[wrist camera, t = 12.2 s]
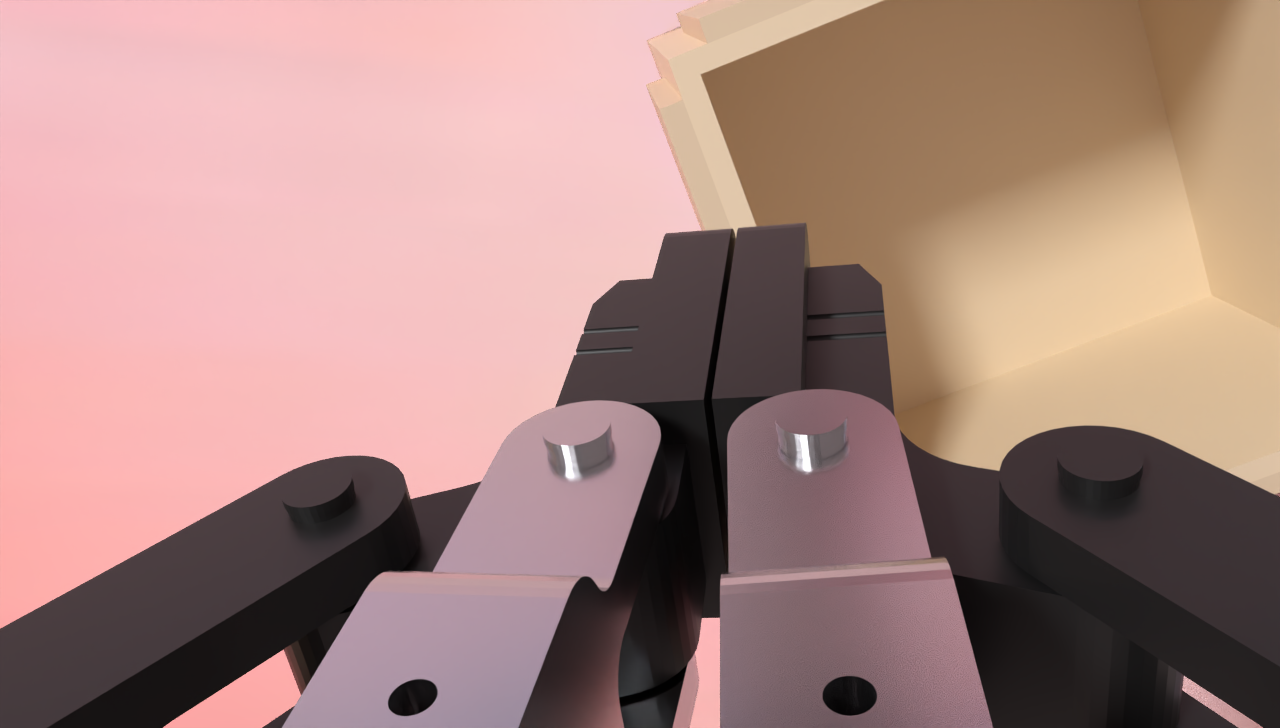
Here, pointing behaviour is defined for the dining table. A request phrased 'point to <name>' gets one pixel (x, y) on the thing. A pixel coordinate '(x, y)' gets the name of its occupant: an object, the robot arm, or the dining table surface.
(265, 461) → the dining table surface
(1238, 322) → the carton
